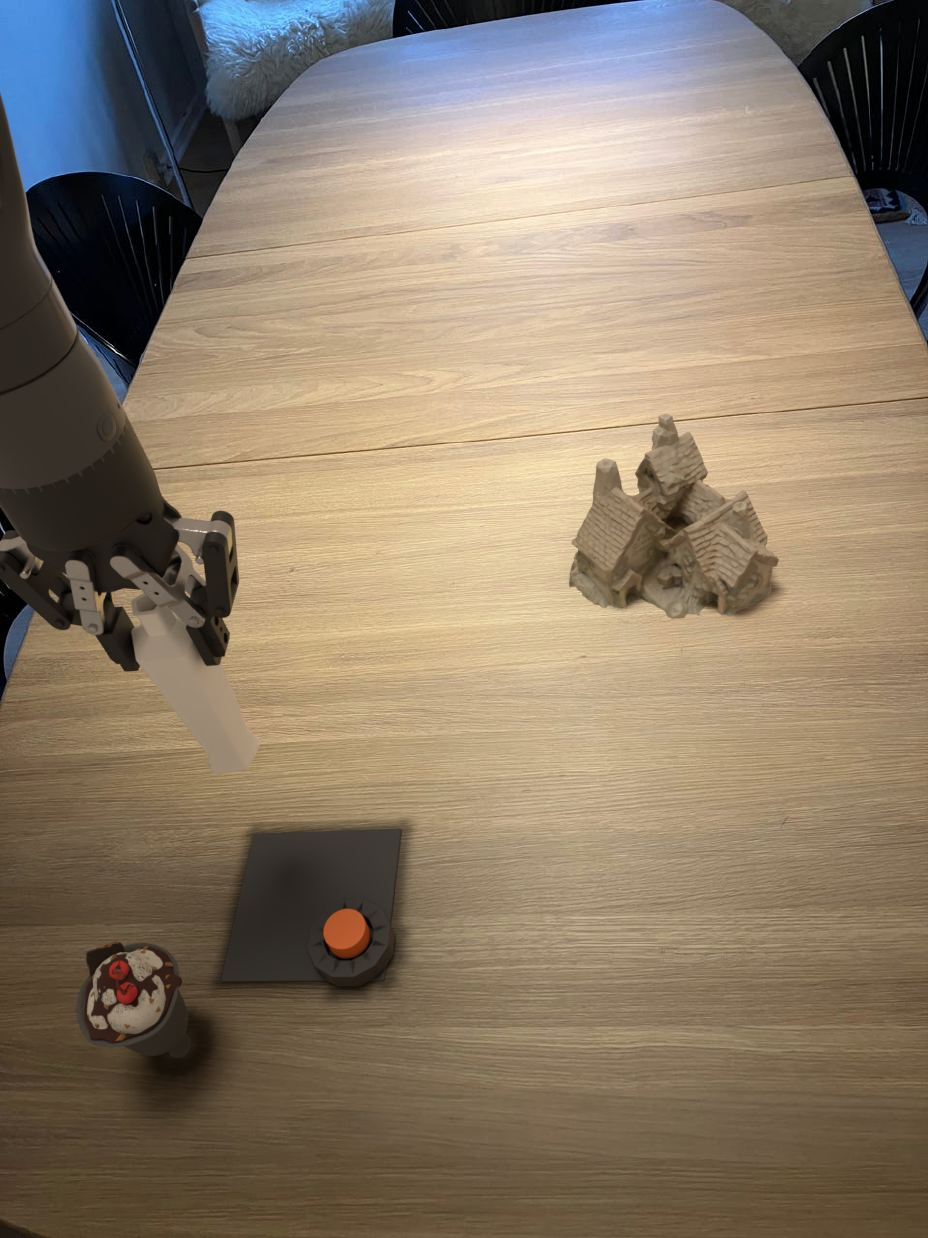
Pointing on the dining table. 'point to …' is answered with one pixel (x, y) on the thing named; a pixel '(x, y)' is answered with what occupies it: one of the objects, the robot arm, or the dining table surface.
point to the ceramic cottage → (670, 536)
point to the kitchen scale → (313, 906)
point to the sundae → (134, 1000)
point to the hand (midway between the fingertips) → (175, 657)
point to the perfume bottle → (192, 687)
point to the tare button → (346, 933)
